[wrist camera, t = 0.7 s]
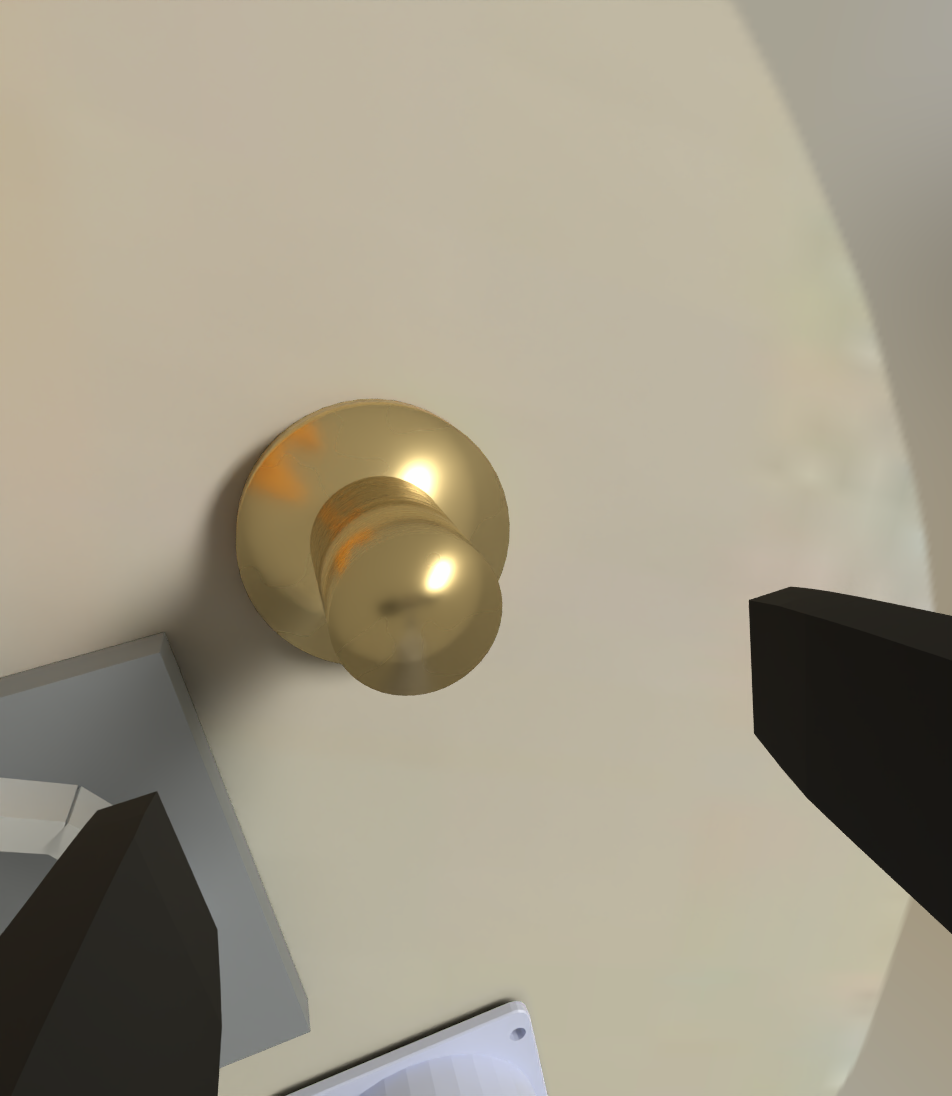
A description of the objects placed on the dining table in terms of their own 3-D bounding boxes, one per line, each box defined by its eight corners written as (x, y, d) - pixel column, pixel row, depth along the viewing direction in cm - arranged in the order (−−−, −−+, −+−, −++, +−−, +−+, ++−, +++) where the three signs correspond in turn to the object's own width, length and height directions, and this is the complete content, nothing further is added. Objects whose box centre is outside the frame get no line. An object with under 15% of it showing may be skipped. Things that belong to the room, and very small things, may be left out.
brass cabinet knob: (514, 606, 19) (599, 708, 14) (279, 677, 17) (290, 813, 13) (472, 371, 16) (557, 403, 12) (199, 434, 15) (179, 495, 11)
